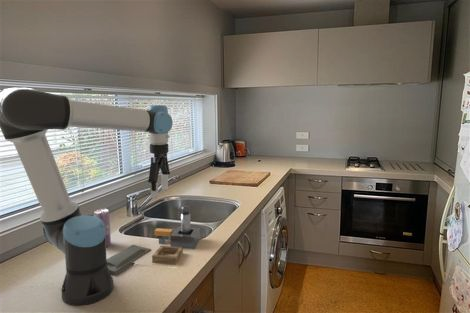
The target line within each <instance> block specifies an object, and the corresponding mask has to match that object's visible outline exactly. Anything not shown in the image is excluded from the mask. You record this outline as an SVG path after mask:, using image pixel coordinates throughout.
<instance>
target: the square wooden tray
mask: <svg viewBox="0 0 470 313" xmlns="http://www.w3.org/2000/svg"><path fill="white" fill-rule="evenodd" d="M183 250H184V248H183V247H172V246H171V245H160V246H159V247H158V249H156V251H155V252H154V254H152V256H151V262H152V263H154V264H155V263H156V264H165V265H176V264H177V263H178V262H179V260H180V258H181V257H182V255H183V254H184V252H183ZM164 254H165V255H164ZM166 254H169V255H166Z"/></svg>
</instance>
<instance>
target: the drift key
mask: <svg viewBox="0 0 470 313" xmlns="http://www.w3.org/2000/svg"><path fill="white" fill-rule="evenodd" d="M173 232H174V229H173V228H172V229H171V228H161V227H160V228H158V227H157V228H155V229H154V236H157V237H158V236H159V237H161V236H162V237H163V236H169V237H170V235H171V234H172V233H173Z"/></svg>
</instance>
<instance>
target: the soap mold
mask: <svg viewBox="0 0 470 313" xmlns="http://www.w3.org/2000/svg"><path fill="white" fill-rule="evenodd" d="M150 251H152V249H151V248H149V247H143V246H141V245H140V246H139V245H136V244H132V245H130V246H128V247H126V248H124V249H123V250H120V251H119V252H117V253H115V254H113V255H112V256H110V257H109V258H106V261H107V267H108V269H109V271H110V274H111V276H118V275H120V274H122V272H125V271H126V270H127V269H129V268H130V267H132V266H134V265H135V264H136V261H137V260H139V259H140V258H142V257H143V256H144V255H145V254H147V253H149V252H150Z"/></svg>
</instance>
